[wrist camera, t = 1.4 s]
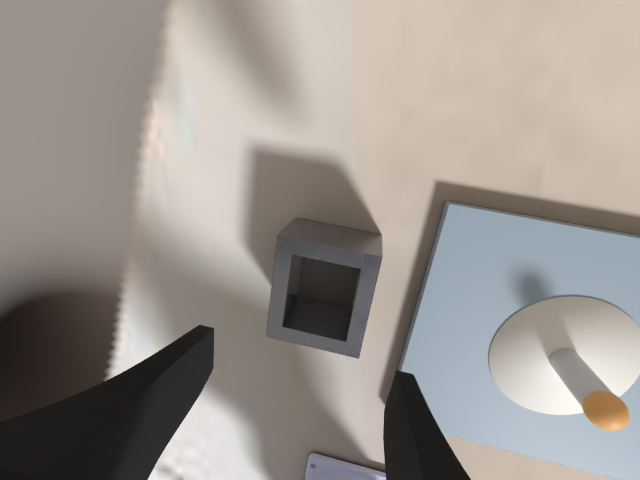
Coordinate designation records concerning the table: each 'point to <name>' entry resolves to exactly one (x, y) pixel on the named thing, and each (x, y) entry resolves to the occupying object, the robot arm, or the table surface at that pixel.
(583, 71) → the table surface
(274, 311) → the hollow square tube
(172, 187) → the table surface
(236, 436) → the table surface
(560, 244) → the board
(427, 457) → the robot arm
